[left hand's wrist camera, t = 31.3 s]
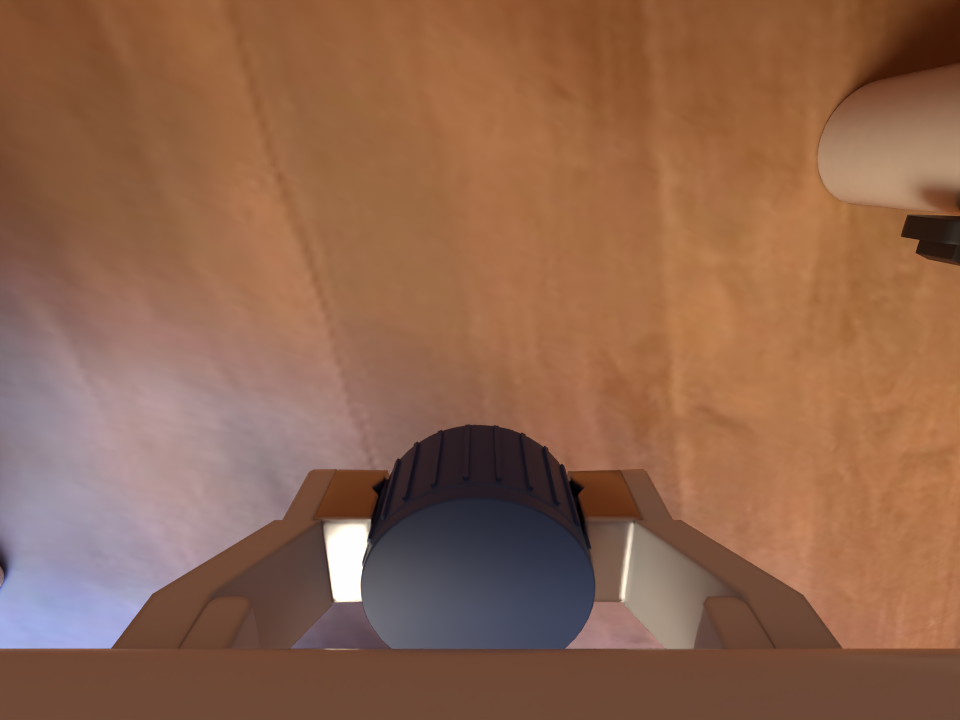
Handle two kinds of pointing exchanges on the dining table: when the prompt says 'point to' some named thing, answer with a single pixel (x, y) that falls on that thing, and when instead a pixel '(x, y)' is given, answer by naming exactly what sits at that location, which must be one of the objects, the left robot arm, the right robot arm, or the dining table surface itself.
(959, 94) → the bottle
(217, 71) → the dining table surface
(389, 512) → the cap
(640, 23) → the dining table surface
